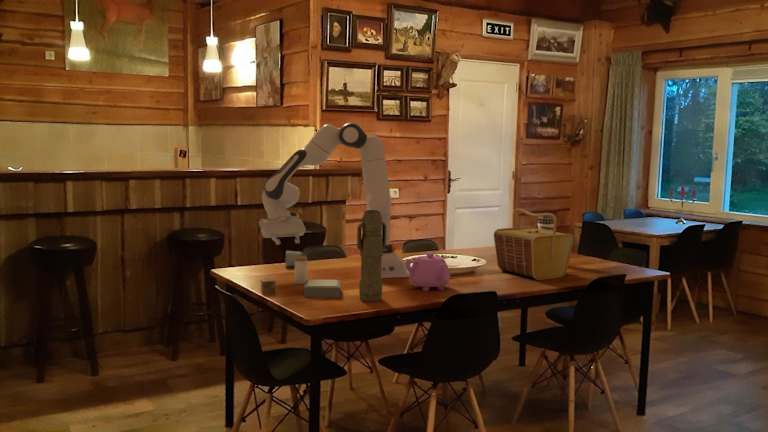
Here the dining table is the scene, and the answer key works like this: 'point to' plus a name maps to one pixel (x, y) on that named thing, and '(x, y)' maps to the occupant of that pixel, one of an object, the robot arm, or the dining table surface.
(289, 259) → the ceramic mug
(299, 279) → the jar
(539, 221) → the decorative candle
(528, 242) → the picnic basket
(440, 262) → the purple piggy bank
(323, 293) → the plinth
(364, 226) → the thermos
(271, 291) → the walnut cube
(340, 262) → the dining table surface
